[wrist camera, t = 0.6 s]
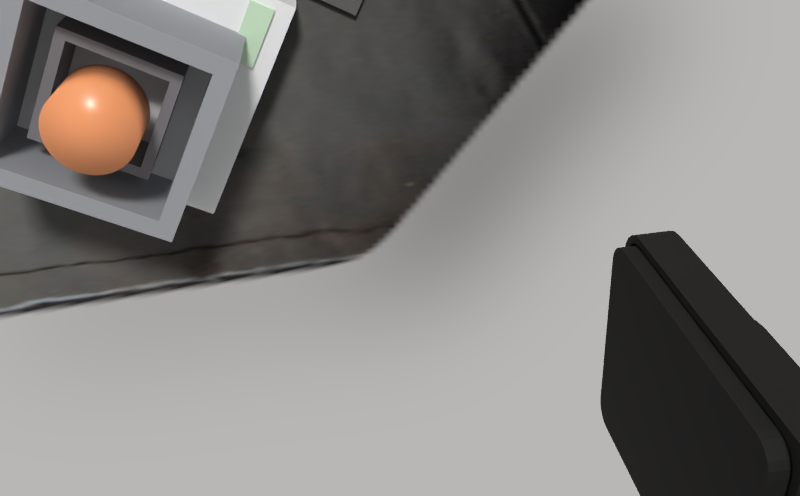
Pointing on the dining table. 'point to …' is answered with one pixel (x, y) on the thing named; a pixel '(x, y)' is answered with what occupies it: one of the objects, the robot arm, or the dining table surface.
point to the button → (95, 119)
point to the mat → (346, 5)
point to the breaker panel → (164, 86)
